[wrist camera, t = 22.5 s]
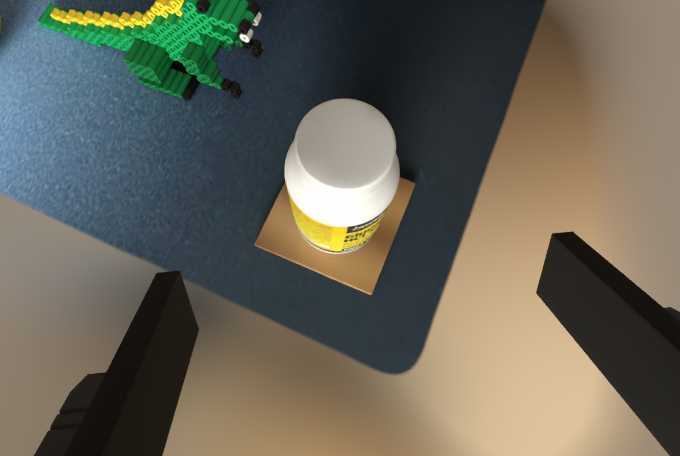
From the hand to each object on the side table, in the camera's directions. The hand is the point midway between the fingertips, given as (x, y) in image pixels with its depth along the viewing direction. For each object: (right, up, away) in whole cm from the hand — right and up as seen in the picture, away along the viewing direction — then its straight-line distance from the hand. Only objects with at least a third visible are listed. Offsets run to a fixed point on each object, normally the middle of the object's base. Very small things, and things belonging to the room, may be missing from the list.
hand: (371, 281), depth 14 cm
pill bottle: (-1, +3, +14) cm, 15 cm away
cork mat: (-1, +3, +15) cm, 15 cm away
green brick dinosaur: (-16, +16, +18) cm, 29 cm away
